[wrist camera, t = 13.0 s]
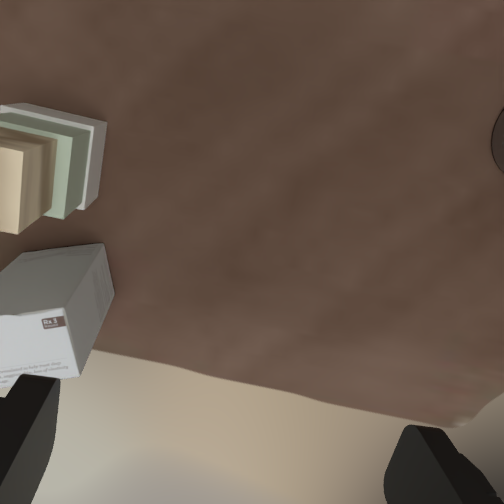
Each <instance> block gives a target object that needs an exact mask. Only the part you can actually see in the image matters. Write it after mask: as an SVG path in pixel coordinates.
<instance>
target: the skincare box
mask: <svg viewBox="0 0 504 504" xmlns="http://www.w3.org/2000/svg"><path fill="white" fill-rule="evenodd" d="M114 295H115V293H114V288H113V284H112V279H111V275H110V270H109V265H108V260H107V255H106V251H105V246H104V243H97V244H88V245H80V246H71V247H62V248H54V249H47V250H41V251H34V252H23V253H21V254H20V255H19V256H18V257H17V258H16V259H15V260H14V261H12V262H11V263H10V264H9V265H8V266H7V267H6V268H4V269H3V270H2V271H1V272H0V388H6V387H12V386H13V385H14V383H15V382H16V380H17V379H18V377H19V376H20V375H21V374H31V375H39V376H46V377H54V378H59V379H66V378H74V377H79V376H80V375H81V372H82V371H83V368H84V366H85V364H86V361H87V359H88V356H89V354H90V352H91V350H92V347H93V345H94V342H95V340H96V338H97V335H98V333H99V331H100V328H101V326H102V323H103V321H104V319H105V317H106V314H107V312H108V309H109V307H110V305H111V302H112V300H113V298H114Z"/></svg>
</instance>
